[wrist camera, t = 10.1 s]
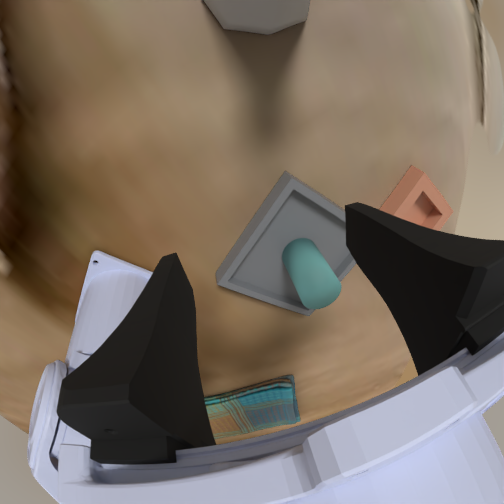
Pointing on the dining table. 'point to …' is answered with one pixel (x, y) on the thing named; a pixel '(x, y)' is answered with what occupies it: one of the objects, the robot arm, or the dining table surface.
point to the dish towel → (253, 408)
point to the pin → (310, 274)
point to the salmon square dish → (418, 201)
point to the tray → (285, 244)
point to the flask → (259, 14)
